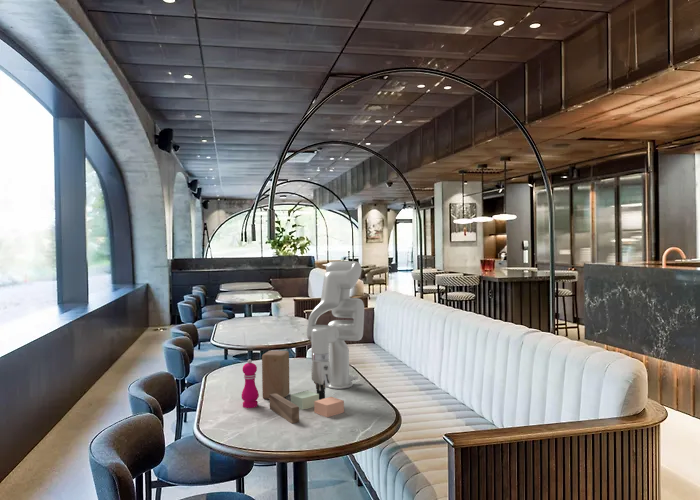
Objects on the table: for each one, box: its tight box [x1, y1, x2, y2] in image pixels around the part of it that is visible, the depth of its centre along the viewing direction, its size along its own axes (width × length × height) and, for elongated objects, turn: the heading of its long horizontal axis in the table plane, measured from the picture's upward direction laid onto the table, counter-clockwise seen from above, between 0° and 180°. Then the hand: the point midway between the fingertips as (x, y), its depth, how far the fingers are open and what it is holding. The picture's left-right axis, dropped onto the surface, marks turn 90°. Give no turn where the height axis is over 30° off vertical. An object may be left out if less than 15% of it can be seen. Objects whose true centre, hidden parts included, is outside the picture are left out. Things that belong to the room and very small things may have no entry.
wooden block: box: [261, 350, 291, 400], centre depth 246 cm, size 10×10×20 cm
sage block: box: [290, 390, 319, 411], centre depth 232 cm, size 9×8×5 cm
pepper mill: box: [241, 358, 260, 409], centre depth 232 cm, size 7×7×20 cm
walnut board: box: [269, 393, 300, 424], centre depth 219 cm, size 3×22×6 cm, turn 31°
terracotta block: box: [313, 396, 345, 418], centre depth 222 cm, size 9×8×5 cm
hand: (320, 398), depth 236 cm, fingers closed
